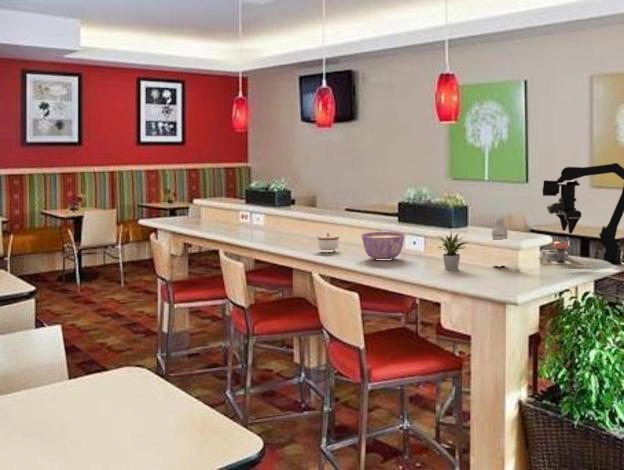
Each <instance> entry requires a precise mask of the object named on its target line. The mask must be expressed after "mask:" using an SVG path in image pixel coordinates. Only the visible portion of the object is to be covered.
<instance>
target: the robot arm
mask: <svg viewBox="0 0 624 470" xmlns="http://www.w3.org/2000/svg"><path fill="white" fill-rule="evenodd" d="M611 173H614V174H615V175H616V176H618V177H619V178H621V179H622V180H623V181H624V167H623V166H621V165H620V163H618V162H614V163H609V164H608V163H607V164H600V165H593V166H591V165H590V166H583V167H582V166H581V167H580V166H566V167H564V168H562V170H561V172H560V176H559V178H557V180H548V179H547V180H546V179H544V180H543V185H542V186H543V187H542V197H558V195H559V194H560V197H559V198H558V201H556V202H554V203H551V204H548V205H546V208H547V211H548V214H551V215H553V214H555V216H556V217H558V219H559V221H560V225H561V228H562V231H568V234H571V235H572V233H573V231H574V230H575V228H576V226H577V224H578V222H579V221H580V219H581V218H582V212H581V211H580V210H577V208H576V207H575V206H576V202H577V198H576V187H577V186H580V184H581V183H579V181H578V180H577V179H580V178H583V177H588V176H597V175H605V174H611ZM572 180H573V181H572ZM564 182H566V183H564ZM623 215H624V184H623V185H622V190H621V194H620V196H619V199H618V201H617V203H616V205H615V207H614V210H613V212H612V215H611V217H610V220H609V221H608V224H607V225H606V226H605V225H602V228H601V231H600V232H599V234H598V237H599V242H600V243H601V245H602V246H604V248H602V252H601V261H605V262H607V263H610V264H611V265H622V264H623V263H622V262H621V255H622V254H621V251H622V249H621V248H620V242H619V241H618V240H617V239H616V235H617V231H618V227H619V225H620V221H621V219H622V217H623ZM567 228H568V229H567ZM566 229H567V230H566Z"/></svg>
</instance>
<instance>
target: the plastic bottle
mask: <svg viewBox="0 0 624 470" xmlns="http://www.w3.org/2000/svg"><path fill="white" fill-rule="evenodd" d="M494 225H495V226H494V227H493V229H492V230H491V238H492V239H493V240H503V239H507V240H508V230H507V228H506V227H505V220H504V219H495V220H494ZM493 240H492V241H493Z"/></svg>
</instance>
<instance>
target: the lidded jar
mask: <svg viewBox="0 0 624 470" xmlns="http://www.w3.org/2000/svg"><path fill="white" fill-rule="evenodd" d="M316 238H317V246H318V248H319V250H320V251H321V250H335V249H336V250H337V249H338V248H339V243H340V241H339V239H340V236H339V235H336V234H334V235H333V234H330V232H328V233H326V235H319V236H317V237H316ZM336 250H335V251H336Z"/></svg>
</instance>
